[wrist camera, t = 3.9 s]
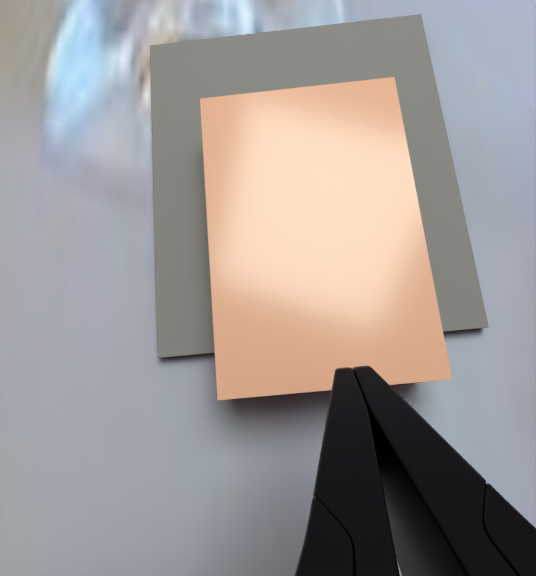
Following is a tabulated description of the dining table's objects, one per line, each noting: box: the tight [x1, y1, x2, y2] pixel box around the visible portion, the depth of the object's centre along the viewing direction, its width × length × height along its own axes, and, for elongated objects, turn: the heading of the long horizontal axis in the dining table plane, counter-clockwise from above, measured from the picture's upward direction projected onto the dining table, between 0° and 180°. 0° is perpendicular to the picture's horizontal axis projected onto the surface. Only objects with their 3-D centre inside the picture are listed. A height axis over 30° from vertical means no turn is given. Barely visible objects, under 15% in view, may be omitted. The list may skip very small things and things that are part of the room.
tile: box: [200, 77, 452, 400], centre depth 15 cm, size 3×8×12 cm
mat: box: [150, 14, 489, 358], centre depth 17 cm, size 16×14×1 cm
